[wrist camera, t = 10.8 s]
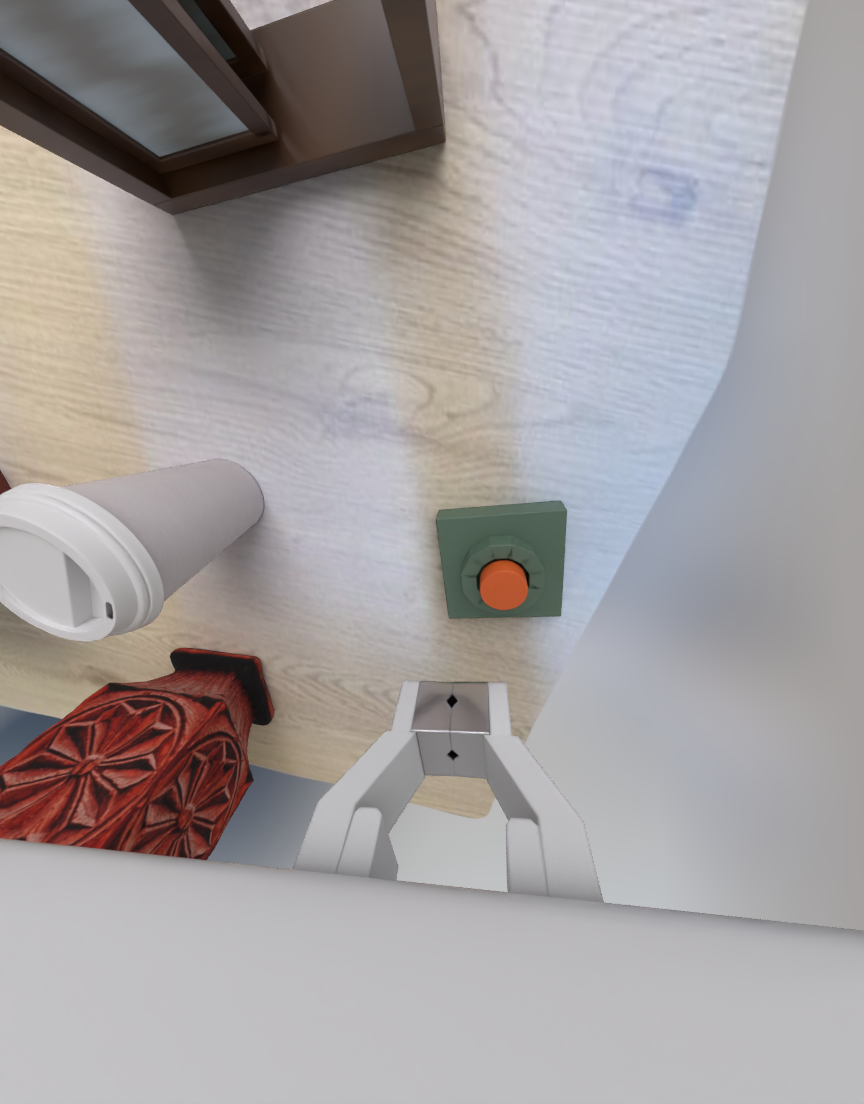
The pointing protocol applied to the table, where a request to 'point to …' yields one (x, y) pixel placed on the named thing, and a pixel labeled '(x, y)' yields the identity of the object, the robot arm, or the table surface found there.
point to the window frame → (218, 93)
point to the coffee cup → (117, 544)
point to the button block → (503, 555)
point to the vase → (143, 762)
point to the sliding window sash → (227, 35)
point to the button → (503, 585)
